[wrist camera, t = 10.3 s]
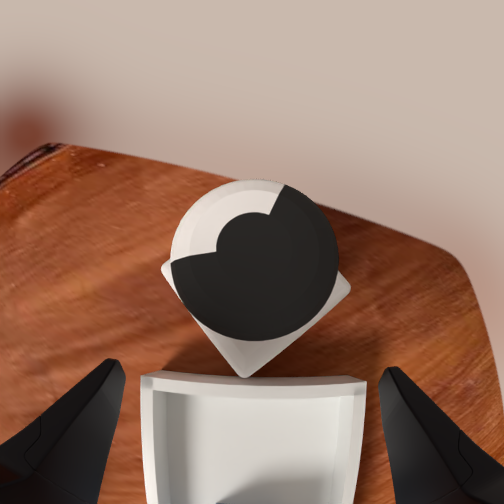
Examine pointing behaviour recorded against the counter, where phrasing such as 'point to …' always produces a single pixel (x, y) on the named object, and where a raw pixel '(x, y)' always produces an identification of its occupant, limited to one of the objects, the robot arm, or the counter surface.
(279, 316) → the medicine bottle
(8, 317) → the counter surface
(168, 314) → the counter surface
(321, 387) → the tote
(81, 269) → the counter surface
